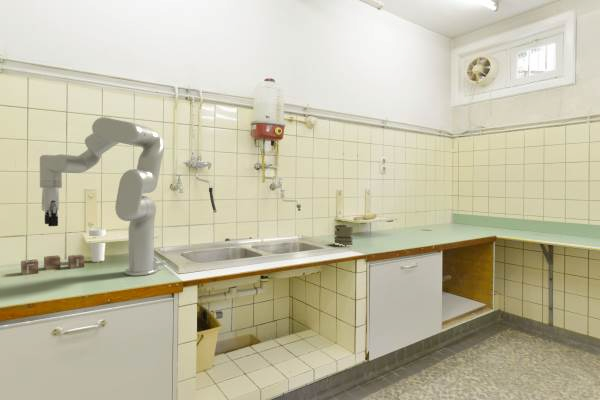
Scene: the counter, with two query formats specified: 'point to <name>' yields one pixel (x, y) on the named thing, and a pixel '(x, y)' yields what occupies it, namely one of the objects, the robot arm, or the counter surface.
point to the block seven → (29, 267)
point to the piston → (343, 234)
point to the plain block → (52, 262)
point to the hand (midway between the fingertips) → (51, 224)
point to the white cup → (97, 245)
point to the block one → (76, 261)
